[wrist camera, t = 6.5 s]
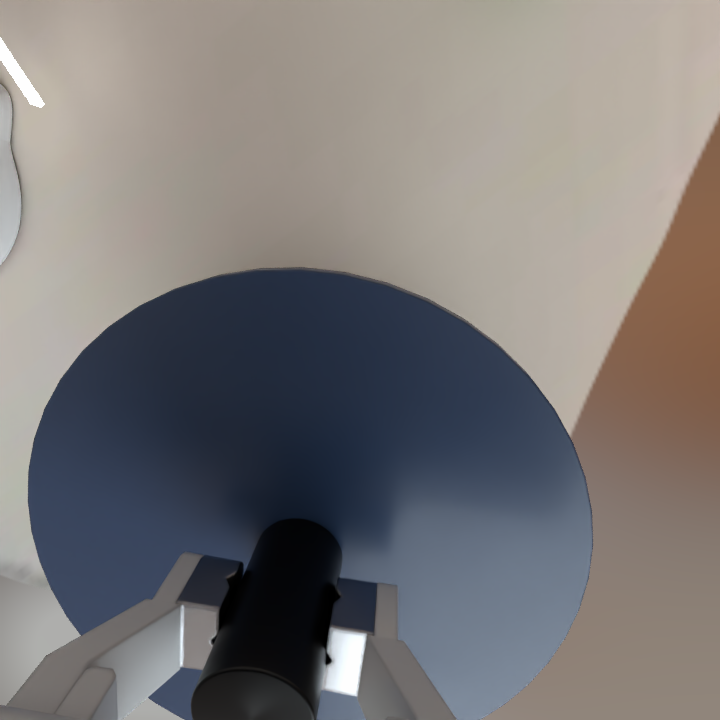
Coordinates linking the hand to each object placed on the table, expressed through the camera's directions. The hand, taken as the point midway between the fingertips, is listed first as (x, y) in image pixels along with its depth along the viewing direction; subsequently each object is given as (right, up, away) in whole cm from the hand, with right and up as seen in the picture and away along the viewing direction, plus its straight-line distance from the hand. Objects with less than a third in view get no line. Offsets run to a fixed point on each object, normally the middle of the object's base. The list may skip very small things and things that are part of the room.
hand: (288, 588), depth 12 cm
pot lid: (0, +1, +2) cm, 2 cm away
